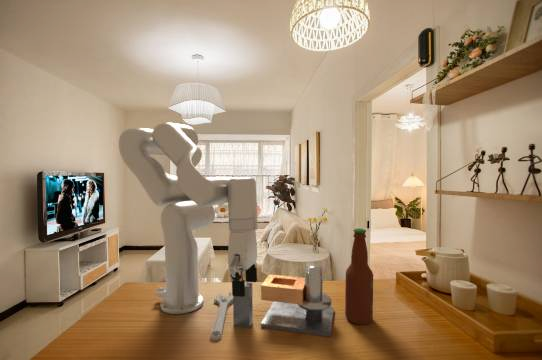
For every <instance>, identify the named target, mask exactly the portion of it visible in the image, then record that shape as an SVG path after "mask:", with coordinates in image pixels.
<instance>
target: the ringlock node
mask: <svg viewBox="0 0 542 360" xmlns="http://www.w3.org/2000/svg"><path fill="white" fill-rule="evenodd" d="M323 269H324V266H323V265H321V264H318V263H307V264H304V277H301V276H290V275H278V274H268V276H266V278H265V280H264V281H263V282H262V283H261V285H260V300H261V301H268V302H272V303H271V305H270V307H269V309H268V310H267V312H266V313H265V316H264V318H263V319H262V321H261V322H260V328H265V329H271V328H272V329H271V330H279V331H285V332H293V333H301V334H306V335H313V336H320V337H327V338H331V337H332V335H331V334H332V330H333V329H332V327H333V319H334V310H335V309H334V308H335V307H334V306H332V301H333V299H332V298H331V296H330V295H328V294H326V293H323V291H324V290H323V289H324V288H323V287H324V286H323V285H324V270H323Z"/></svg>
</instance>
